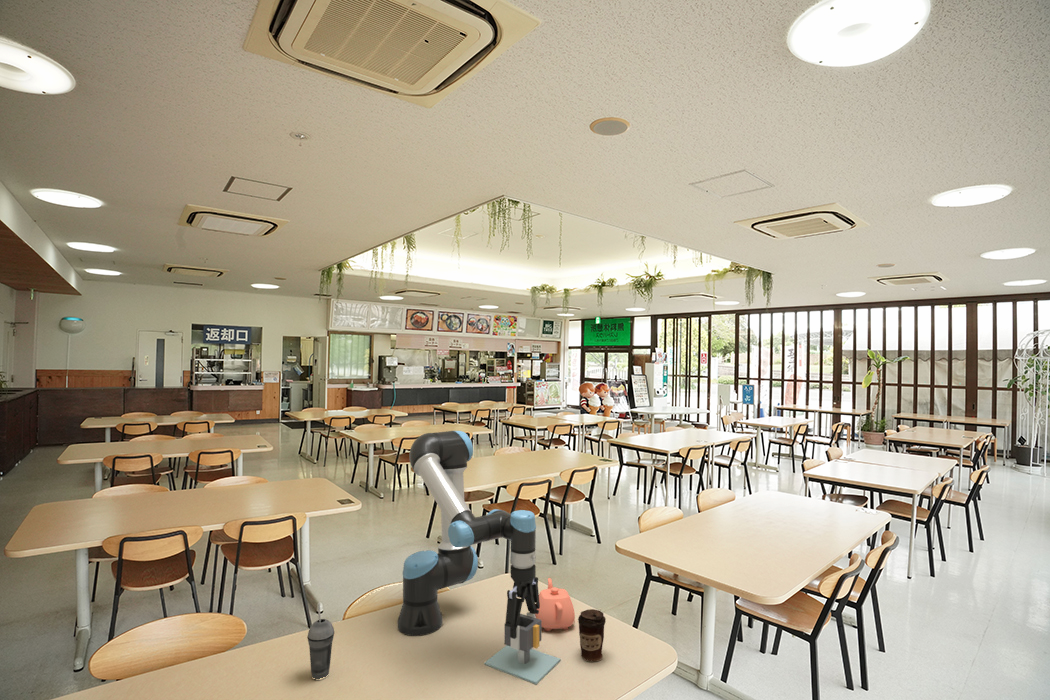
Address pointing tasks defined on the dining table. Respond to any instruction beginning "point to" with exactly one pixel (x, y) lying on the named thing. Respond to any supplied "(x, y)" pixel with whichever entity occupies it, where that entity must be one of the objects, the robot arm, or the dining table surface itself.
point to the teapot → (555, 608)
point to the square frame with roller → (526, 633)
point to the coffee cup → (591, 634)
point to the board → (523, 663)
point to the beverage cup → (320, 646)
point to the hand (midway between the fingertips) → (523, 641)
